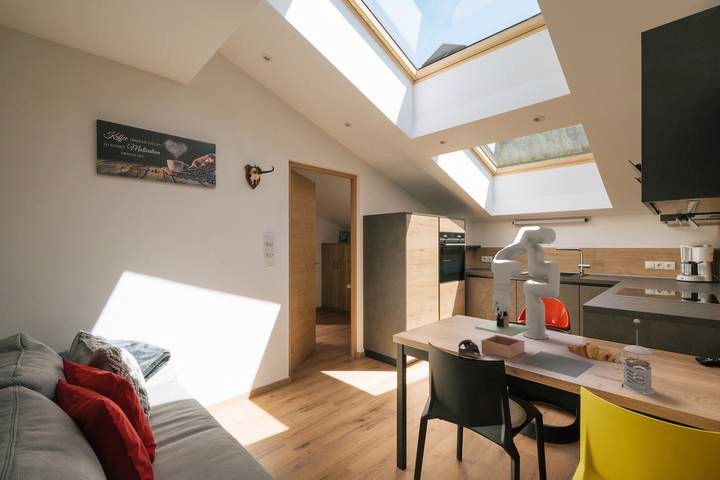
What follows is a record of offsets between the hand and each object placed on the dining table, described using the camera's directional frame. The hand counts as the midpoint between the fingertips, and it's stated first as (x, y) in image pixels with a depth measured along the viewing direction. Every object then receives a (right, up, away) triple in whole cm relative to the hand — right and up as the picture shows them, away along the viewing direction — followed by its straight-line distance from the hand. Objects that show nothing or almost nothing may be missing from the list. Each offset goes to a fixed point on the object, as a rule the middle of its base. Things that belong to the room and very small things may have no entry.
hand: (502, 325), depth 163 cm
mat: (+16, -13, -16) cm, 27 cm away
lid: (0, -2, 0) cm, 2 cm away
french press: (+32, -13, -38) cm, 52 cm away
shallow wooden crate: (0, -13, 0) cm, 13 cm away
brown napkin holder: (-17, -14, -2) cm, 22 cm away
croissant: (+37, -13, -8) cm, 41 cm away
